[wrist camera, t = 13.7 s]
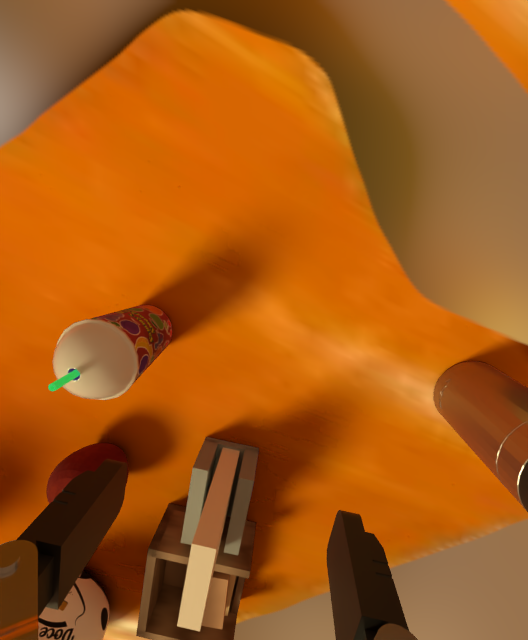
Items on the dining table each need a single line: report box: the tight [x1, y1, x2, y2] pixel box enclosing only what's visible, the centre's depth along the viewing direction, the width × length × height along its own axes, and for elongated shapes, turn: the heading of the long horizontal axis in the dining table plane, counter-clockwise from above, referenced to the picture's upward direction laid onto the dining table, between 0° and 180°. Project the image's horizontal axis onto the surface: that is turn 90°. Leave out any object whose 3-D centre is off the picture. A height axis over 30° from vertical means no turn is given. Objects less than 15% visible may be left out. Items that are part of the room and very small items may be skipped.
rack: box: [136, 503, 256, 640], centre depth 50 cm, size 14×16×8 cm
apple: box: [47, 443, 128, 504], centre depth 47 cm, size 10×10×10 cm
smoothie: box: [48, 305, 173, 400], centre depth 36 cm, size 8×8×20 cm
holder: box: [181, 437, 259, 555], centre depth 47 cm, size 8×12×7 cm, turn 169°
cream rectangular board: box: [177, 447, 240, 631], centre depth 42 cm, size 2×11×16 cm, turn 169°
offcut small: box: [201, 571, 230, 629], centre depth 48 cm, size 5×9×3 cm, turn 173°
